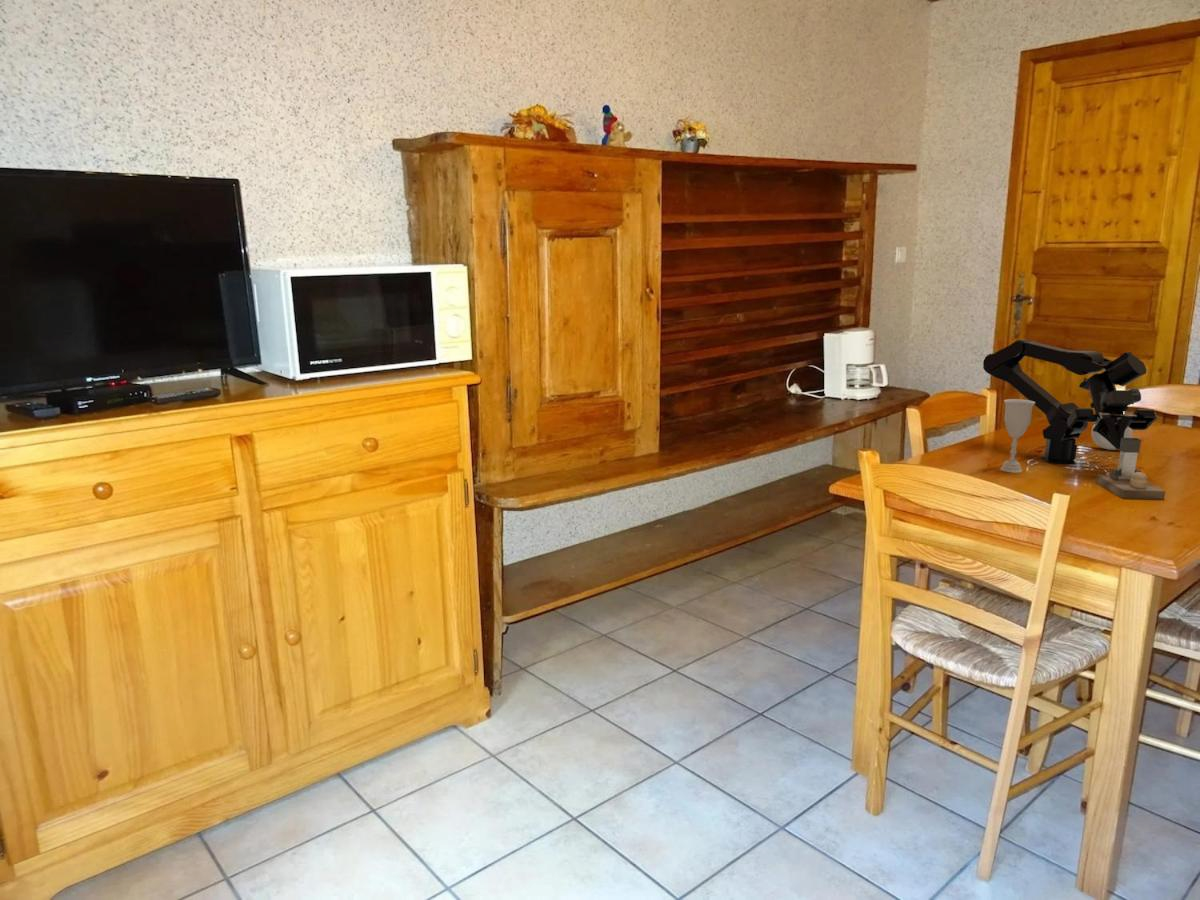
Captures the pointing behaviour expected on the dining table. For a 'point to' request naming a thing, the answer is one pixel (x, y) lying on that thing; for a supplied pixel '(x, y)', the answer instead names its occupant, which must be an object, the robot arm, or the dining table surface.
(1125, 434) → the donut
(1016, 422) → the chalice
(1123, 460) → the grey blocky upright piece
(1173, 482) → the dining table surface
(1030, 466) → the dining table surface
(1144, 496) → the grey base plate stand
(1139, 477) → the beige egg
